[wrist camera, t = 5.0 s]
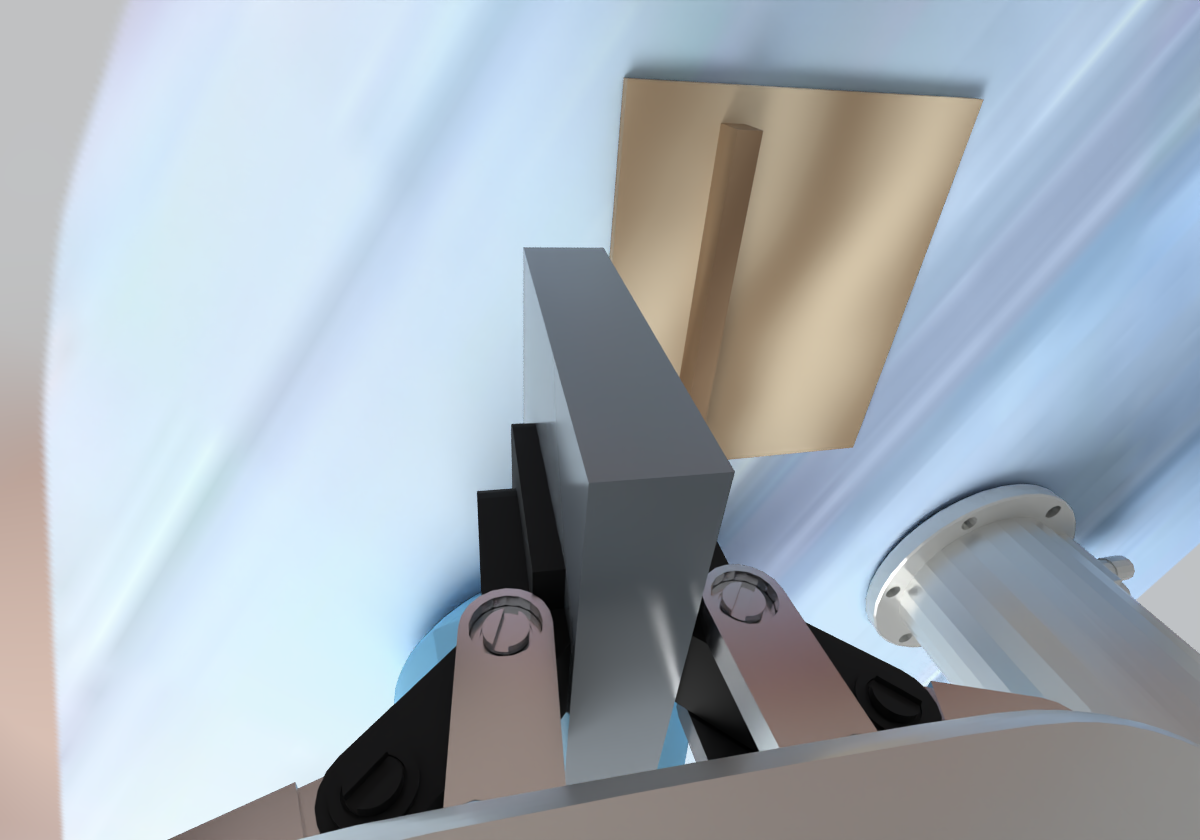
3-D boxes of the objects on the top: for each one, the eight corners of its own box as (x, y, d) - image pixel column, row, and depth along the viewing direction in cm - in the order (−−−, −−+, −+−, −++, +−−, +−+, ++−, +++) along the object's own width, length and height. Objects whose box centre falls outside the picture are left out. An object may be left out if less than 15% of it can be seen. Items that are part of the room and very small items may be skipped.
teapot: (734, 563, 31) (855, 780, 22) (614, 732, 37) (670, 950, 29) (437, 518, 25) (443, 795, 16) (355, 730, 31) (328, 1008, 23)
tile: (603, 247, 12) (734, 472, 6) (581, 532, 17) (647, 807, 11) (523, 247, 12) (588, 483, 6) (523, 537, 16) (560, 823, 11)
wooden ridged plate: (974, 97, 20) (1012, 104, 18) (848, 442, 28) (868, 463, 26) (623, 77, 17) (639, 83, 16) (593, 466, 25) (602, 491, 23)
